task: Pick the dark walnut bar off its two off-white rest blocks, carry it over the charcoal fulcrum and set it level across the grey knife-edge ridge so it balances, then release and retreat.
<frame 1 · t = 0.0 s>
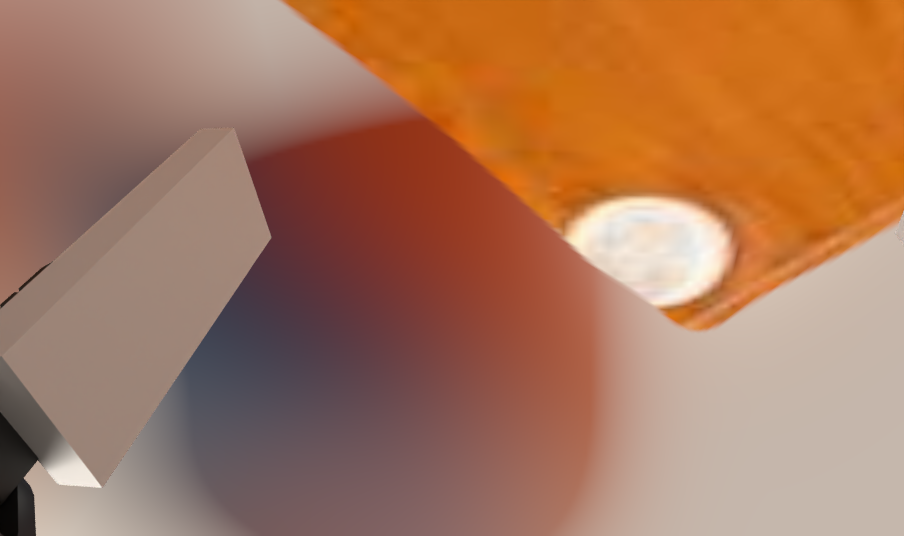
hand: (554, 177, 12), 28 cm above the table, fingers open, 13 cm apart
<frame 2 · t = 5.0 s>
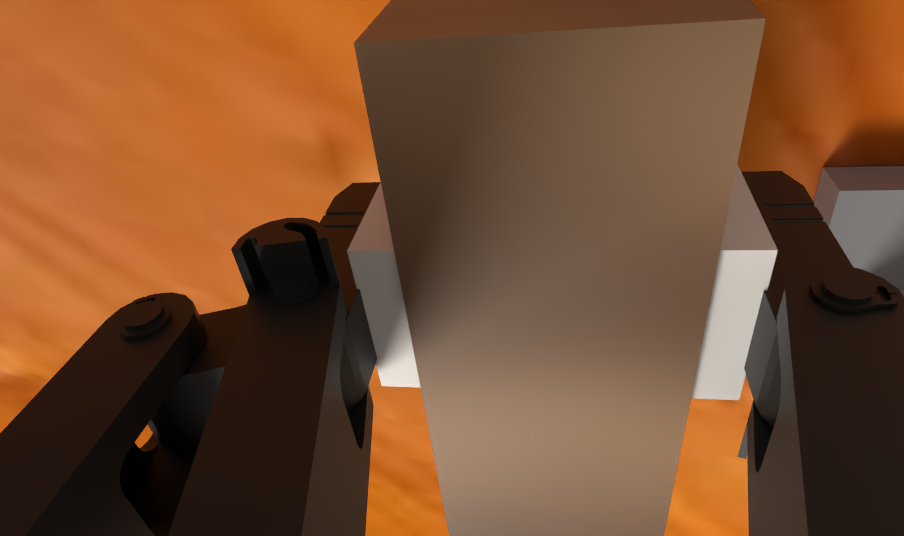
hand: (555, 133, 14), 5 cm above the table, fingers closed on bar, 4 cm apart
bar: (554, 398, 15), point 8 cm above the table, touching gripper
when the fingers open (4 cm above the table, at t = 7.9 s): bar stays where it is, resting on fulcrum.
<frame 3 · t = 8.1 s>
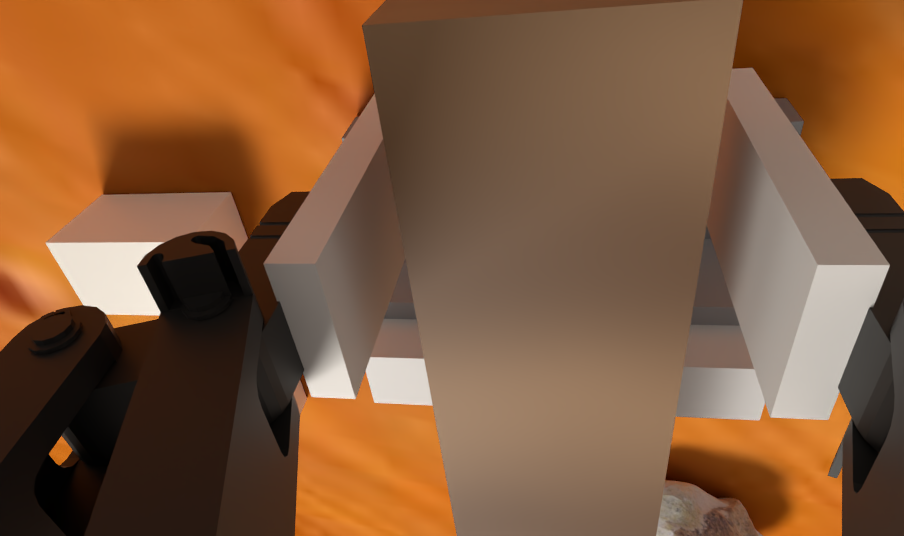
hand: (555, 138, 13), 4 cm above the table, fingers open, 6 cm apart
rest blocks: (170, 205, 22), on the table
fulcrum: (558, 251, 20), on the table
bar: (554, 384, 15), point 6 cm above the table, touching fulcrum
stone: (629, 527, 30), on the table
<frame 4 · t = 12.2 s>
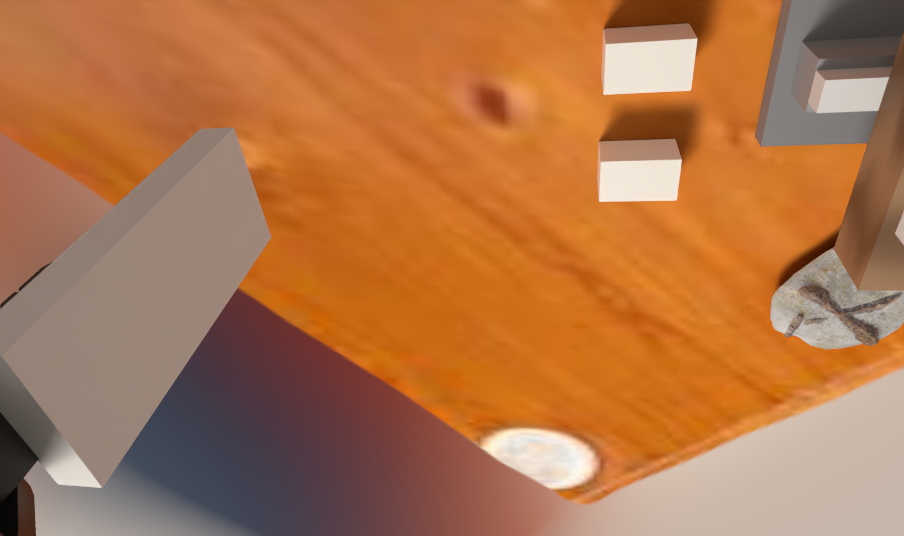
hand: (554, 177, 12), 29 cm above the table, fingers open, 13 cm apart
rest blocks: (645, 34, 37), on the table
fulcrum: (880, 54, 36), on the table
stone: (851, 274, 46), on the table
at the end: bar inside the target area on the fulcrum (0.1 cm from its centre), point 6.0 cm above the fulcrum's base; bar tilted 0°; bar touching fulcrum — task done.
